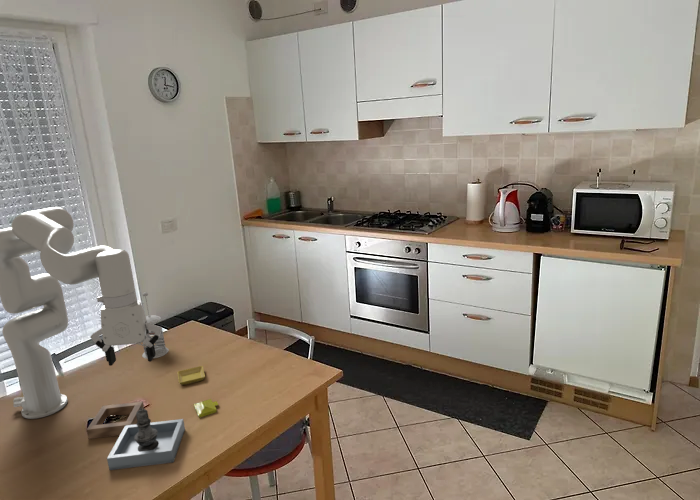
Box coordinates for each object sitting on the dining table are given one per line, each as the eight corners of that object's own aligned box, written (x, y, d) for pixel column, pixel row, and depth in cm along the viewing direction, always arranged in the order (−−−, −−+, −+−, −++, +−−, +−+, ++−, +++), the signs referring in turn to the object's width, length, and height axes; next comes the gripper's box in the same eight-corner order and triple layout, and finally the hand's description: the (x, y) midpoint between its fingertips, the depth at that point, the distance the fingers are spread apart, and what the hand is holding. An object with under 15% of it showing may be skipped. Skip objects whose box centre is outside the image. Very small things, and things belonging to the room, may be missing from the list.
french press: (174, 350, 190) (164, 290, 183) (148, 363, 180) (137, 300, 174) (158, 345, 195) (148, 286, 188) (132, 357, 185) (120, 296, 179)
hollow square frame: (88, 438, 137) (86, 429, 136) (104, 414, 149) (102, 405, 148) (132, 433, 138) (130, 424, 138) (144, 409, 150) (142, 401, 149)
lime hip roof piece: (188, 408, 151) (186, 400, 150) (217, 399, 155) (216, 391, 154) (195, 424, 142) (194, 415, 141) (226, 413, 146) (224, 405, 146)
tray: (109, 470, 124) (106, 458, 123) (127, 436, 137) (125, 425, 136) (173, 462, 125) (171, 450, 124) (185, 429, 139) (183, 418, 138)
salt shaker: (151, 454, 128) (144, 414, 125) (131, 452, 129) (123, 413, 126) (164, 439, 133) (156, 401, 130) (144, 438, 134) (137, 400, 131)
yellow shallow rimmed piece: (206, 381, 165) (205, 376, 164) (179, 388, 162) (178, 382, 161) (203, 370, 173) (202, 365, 172) (178, 376, 170) (177, 371, 169)
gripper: (77, 308, 116) (91, 372, 120) (151, 301, 117) (162, 364, 122) (90, 297, 123) (102, 358, 127) (159, 291, 125) (170, 351, 129)
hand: (132, 361), depth 125 cm, fingers open, 9 cm apart
